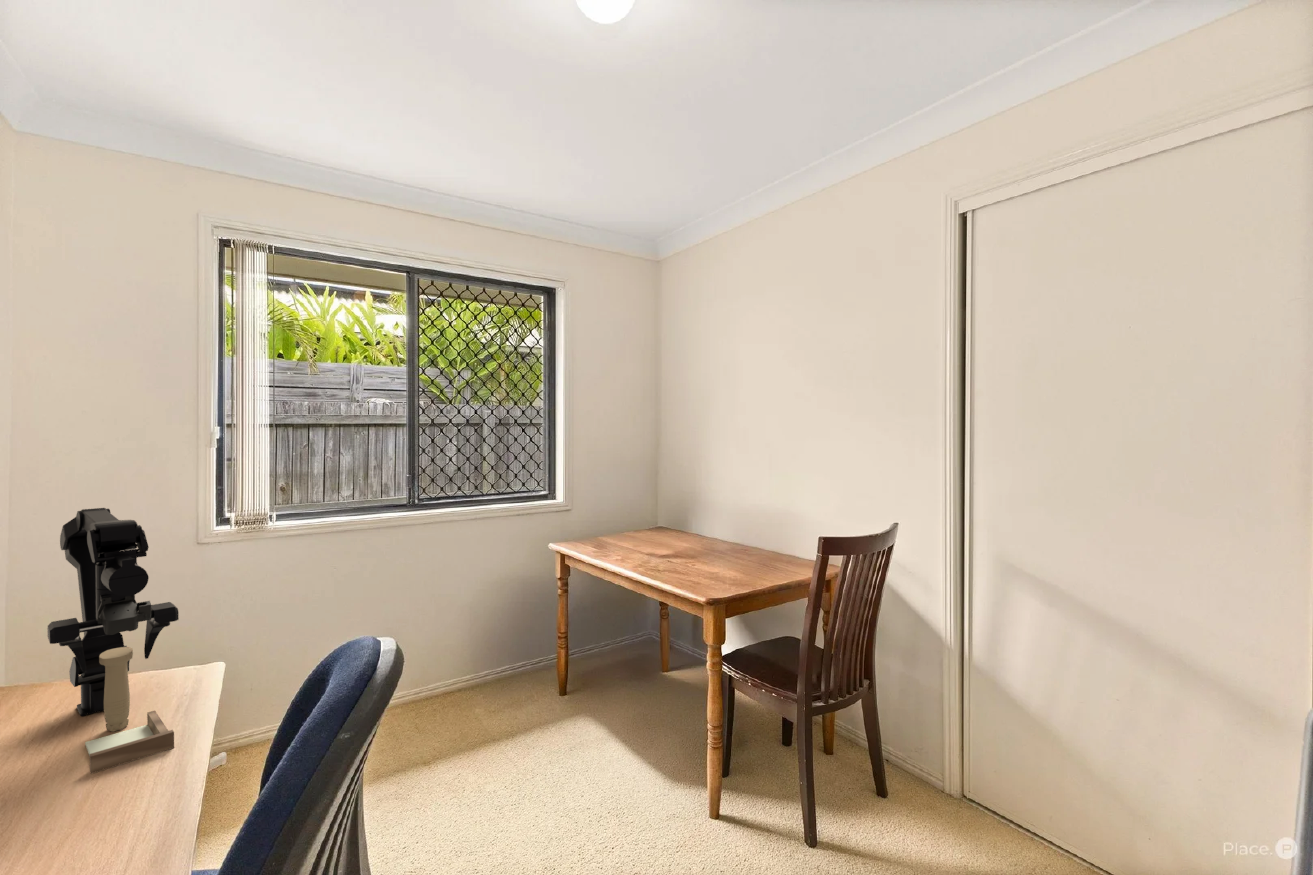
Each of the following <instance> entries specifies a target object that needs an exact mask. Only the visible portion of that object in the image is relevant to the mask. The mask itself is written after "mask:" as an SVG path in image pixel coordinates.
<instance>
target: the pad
mask: <svg viewBox="0 0 1313 875" xmlns="http://www.w3.org/2000/svg"><path fill="white" fill-rule="evenodd" d="M149 736H153V733H152V731H151V730H150V728H149V726H148V725H147V724H145V725H141V726H138V727H134V728H131V729H126V730H124V731H123V730H122V731H120V732H116V733H112V734H110V735H105V736H103V737H102V736H101V737H99V738H96V739H90V740H89V741H88V740H87V741H85V744H84V745H85V748H86V751H87V753H88V756H89V757H90V754H92V753H95V752H98V751H102V750H105V749H109V748H112V747H115V746H119V745H122V744H125V743H129V742H132V741H136V740H139V739H142V738H146V737H149Z"/></svg>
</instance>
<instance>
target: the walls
mask: <svg viewBox="0 0 1313 875" xmlns="http://www.w3.org/2000/svg"><path fill="white" fill-rule="evenodd" d="M146 715H147V716H146V718H147V719H146V720H147V721H146V722H147V724H146V725H148V726H149V728H150V730H151V731H152V733H153V736H149V737H146V738H142V739H139V740H136V741H132V742H129V743H125V744H122V745H119V746H115V747H112V748H109V749H105V750H102V751H98V752H95V753H92V754H90V756H89V772H90V774H91V775H92V774H95V773H98V772H101V771H104V770H108V769H111V768H114V767H117V766H120V765H123V764H127V763H130V762H134V761H137V760H140V759H143V758H146V757H150V756H152V755H157V754H159V753H162V752H165V751H168V750H169V751H170V750H171V749H174V748H175V731H174V730H173V729H168V728H167V726H166V724H165V723H164V722H163V720H162V718H161V717H160V716H159V714H158V713H157V711H156V710H152V711H148V712H147V713H146Z"/></svg>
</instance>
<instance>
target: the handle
mask: <svg viewBox="0 0 1313 875" xmlns="http://www.w3.org/2000/svg"><path fill="white" fill-rule="evenodd" d="M133 656H134V652H133V647H130V646H127V647H120V648H114V649H110V650H107V651H105V652H103V653H101V654H100V656H99V663H100V664H101V665H104V666H105V688H104V710H103V713H104V714H103V715H104V721H105V729H106V731H110V732H112V733H113V732H115V731H120V730H123V729H124V728H126V727H127V726H128V725H129V720H130V719H129V716H130V709H131V708H130V706H131V704H130V703H131V702H130V701H131V700H130V699H131V694H130V693H131V692H130V684H129V682H130V681H129V671H128V668H127V662H128V661H129V660H130V661H131V660H132V659H133Z"/></svg>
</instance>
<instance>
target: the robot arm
mask: <svg viewBox="0 0 1313 875" xmlns="http://www.w3.org/2000/svg"><path fill="white" fill-rule="evenodd" d="M59 544H60V545H59V547H60V550H61V551H64V554H65V560H66V561H67V562H68V563H69V564H71V566H73V567H74V568H75V569H76V572H77V580H78V590H79V591H78V592H79V599H80V600H79V601H80V609H81V617H82V618H81V619H82V621H80V622H79V621H78V619H77V617H74V618H67V619H60V620H55V621H51V622H50V623H49V624H48V625H47V628H46V629H47V639H48V641H49V644H50V645H53V644H54V645H55V644H59V646H60V647H66V646H67V647H68V648H69V650H70V651H71V652H72V653H73V654H74V656H72V659H71V663H70V668H69V682H70V683H71V685H72V686H73V687H74V688H76V687H79V686H80V703H78V704H77V705H76V708H77V712H78V713H79V716H80V717H83V716H88V715H91V714H95V713H99V712H104V688H105V666H104V665H101V664H100V663H99V656H100V654H101V653H103V652H105V651H107V650H110V649H114V648H120V647H128V646H127V645H125V641H124V638H123V635H122V633H123V632H124V633H125V632H132V631H136V630H137V629H138V628H139V623H141V622H145V621H146V625H145V627H146V628H145V638H144V647H143V648H144V649H143V650H144V653H143V654H144V659H145V660H147V659H149V658H150V656H151V655H150V654H151V653H152V650H153V647H154V645H155V642H156V641H157V638H158V636H159V635H160V633H161V631H162V630H163V629H164V628H166V627H169V626H171V622H172V623H173V622H177V621H179V618H180V617H179V609H178V607H177V606H176V605H175V604H174V603H172V602H170V601H168V602H162V603H155V604H154V603H153V604H151V600H147V601H146V600H145V601H140V602H137V601H136V595H137V594H140V592H142V591H143V590H144V589H145V588H146V587H147V584H148V583H149V578H150V577H149V574H148V572H147V571H146V570H145V568H143V567H142V566H140V565H139V564H138V562H137V561H138V560H137V559H138V558H146V557H147V552H148V551H149V544H148V540H147V535H146V533H145V530H144V529H143V528H142V526H141V525H140V524H138V523H137V520H134V519H119V518H117V517H116V516H115V515H113V513H111V510H110V508H106V507H97V508H83V509H81V510H78V511H77V512H76V514H75V517H73V518H72V519H71V520H69V521H68V522H66V523H65V524H63V525H62V528H61V532H60V535H59ZM80 633H83V637H82V638H81V636H80V635H81V634H80ZM130 661H131V659H130V660H129V661H128V662H127V668H128V672H129V671H130Z"/></svg>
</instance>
